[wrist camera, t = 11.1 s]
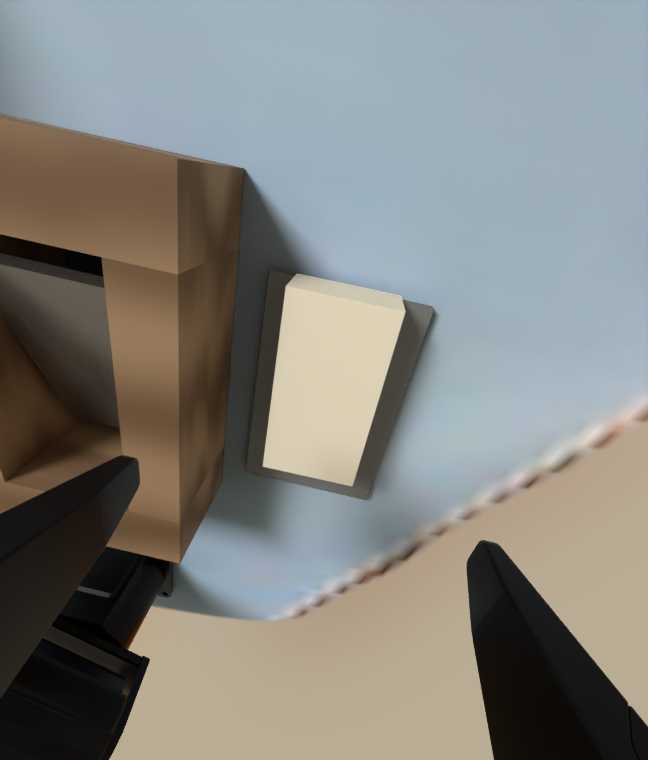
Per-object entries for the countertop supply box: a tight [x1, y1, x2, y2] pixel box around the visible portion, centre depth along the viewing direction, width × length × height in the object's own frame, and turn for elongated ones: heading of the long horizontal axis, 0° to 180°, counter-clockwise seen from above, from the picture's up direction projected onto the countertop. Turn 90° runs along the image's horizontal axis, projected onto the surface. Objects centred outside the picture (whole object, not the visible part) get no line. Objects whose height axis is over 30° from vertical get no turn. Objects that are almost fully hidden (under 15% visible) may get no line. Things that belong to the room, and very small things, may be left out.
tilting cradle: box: [0, 253, 120, 428], centre depth 17 cm, size 11×6×1 cm, turn 169°
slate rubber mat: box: [246, 270, 434, 500], centre depth 20 cm, size 13×8×1 cm, turn 169°
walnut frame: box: [0, 114, 244, 564], centre depth 17 cm, size 19×12×6 cm, turn 169°
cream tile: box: [263, 273, 406, 486], centre depth 18 cm, size 10×5×2 cm, turn 170°
